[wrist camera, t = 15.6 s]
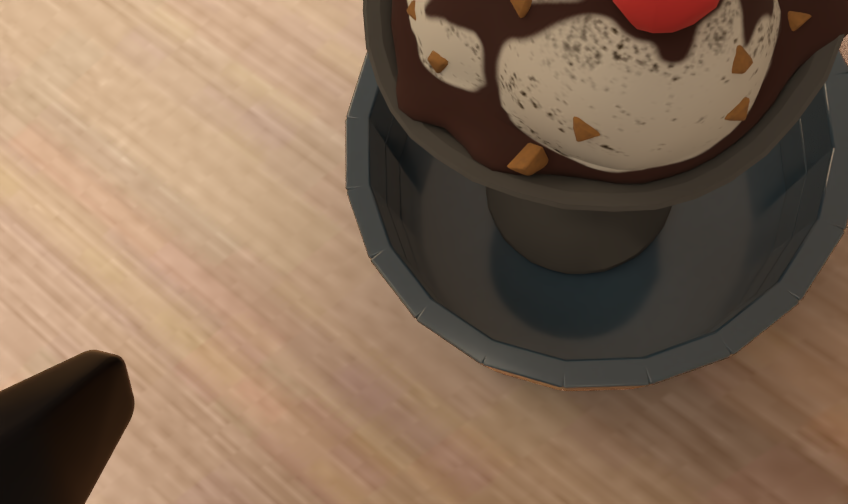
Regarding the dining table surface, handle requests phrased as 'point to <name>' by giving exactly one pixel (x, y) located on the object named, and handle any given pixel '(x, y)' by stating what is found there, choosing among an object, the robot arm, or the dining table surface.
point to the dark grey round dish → (615, 288)
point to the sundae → (598, 105)
